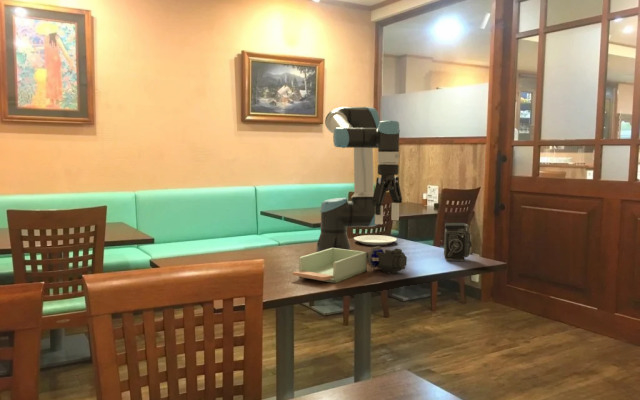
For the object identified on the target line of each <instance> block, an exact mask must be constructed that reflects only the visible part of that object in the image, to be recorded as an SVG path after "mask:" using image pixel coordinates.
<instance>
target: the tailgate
mask: <svg viewBox="0 0 640 400" xmlns="http://www.w3.org/2000/svg"><path fill="white" fill-rule="evenodd" d="M292 276H297V277H299V276H301V277H300V278H303V277H307V278H306V279H309V278H313V279H312V280H315V279H318V280H317V281H320V280H328V279H333V276H332V275H326V274H320V273H314V272H308V271H299V270H298V271H293V272H292Z"/></svg>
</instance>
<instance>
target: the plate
mask: <svg viewBox="0 0 640 400" xmlns="http://www.w3.org/2000/svg"><path fill="white" fill-rule="evenodd" d="M353 240H355V241H357V242H359V243H360V244H362V245H367V246H386V245H389V244H391V243H394V242H396V241H397V240H398V238H397V237H394V236H390V235H389V236H388V235H380V234H378V235H377V234H367V235H365V234H364V235H359V236H358V235H357V236H354V237H353Z"/></svg>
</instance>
